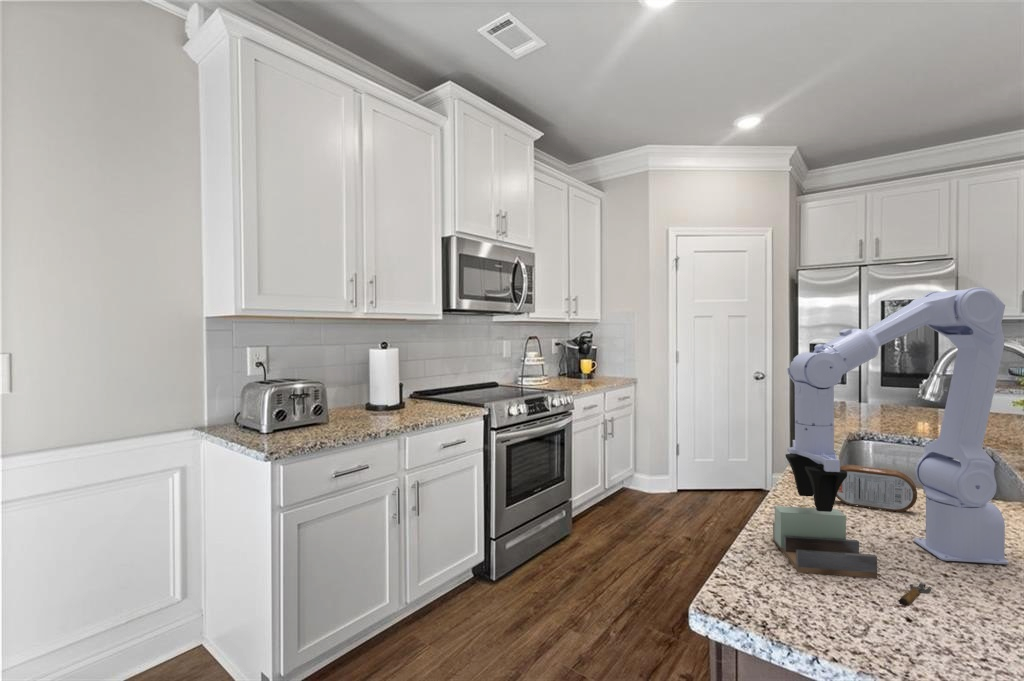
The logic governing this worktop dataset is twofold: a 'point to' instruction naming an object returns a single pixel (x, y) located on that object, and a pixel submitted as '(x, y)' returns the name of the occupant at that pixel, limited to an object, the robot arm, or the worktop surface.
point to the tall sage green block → (808, 523)
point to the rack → (828, 556)
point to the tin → (877, 488)
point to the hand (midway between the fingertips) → (814, 502)
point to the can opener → (914, 594)
